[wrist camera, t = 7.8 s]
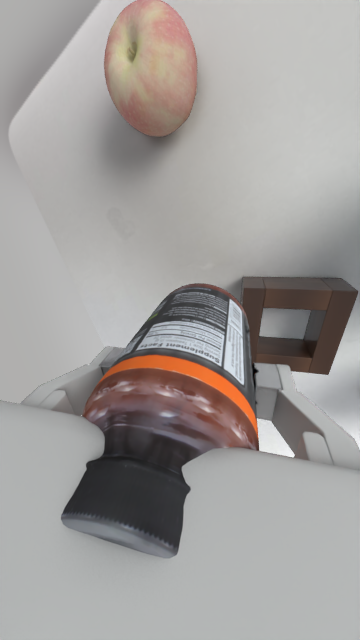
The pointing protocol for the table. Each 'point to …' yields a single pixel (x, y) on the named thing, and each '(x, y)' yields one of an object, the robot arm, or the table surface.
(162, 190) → the table surface
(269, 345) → the holder
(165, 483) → the supplement bottle
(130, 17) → the apple
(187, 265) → the table surface
